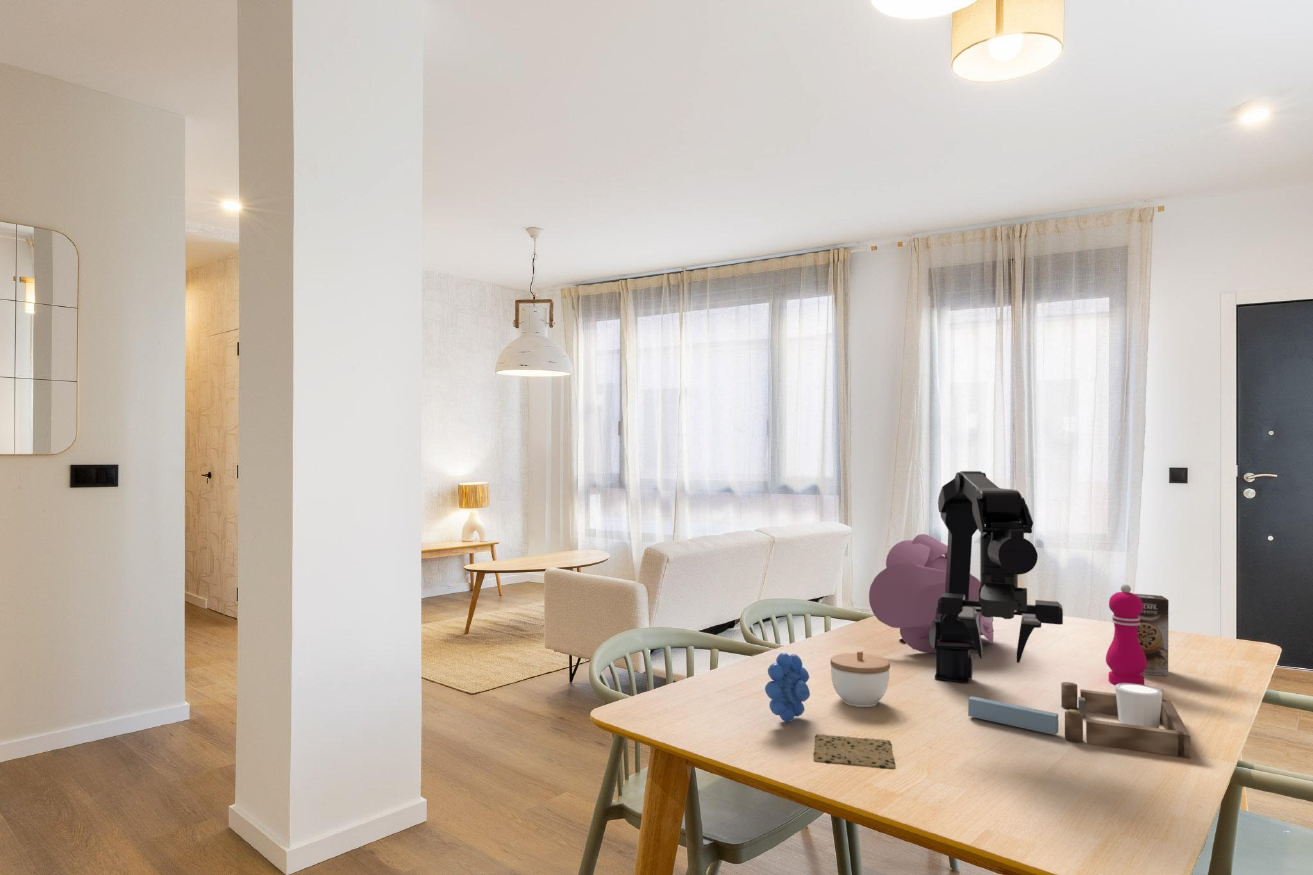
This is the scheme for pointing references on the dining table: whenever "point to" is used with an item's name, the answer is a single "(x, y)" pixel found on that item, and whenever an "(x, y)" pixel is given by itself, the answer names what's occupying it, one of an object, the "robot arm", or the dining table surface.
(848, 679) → the lidded jar
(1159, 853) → the dining table surface
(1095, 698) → the fence
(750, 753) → the dining table surface
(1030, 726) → the gate
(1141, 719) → the white cup
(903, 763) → the dining table surface
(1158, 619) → the dark tall box
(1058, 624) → the robot arm
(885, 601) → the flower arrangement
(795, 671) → the grapes
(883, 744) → the cookie
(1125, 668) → the pepper mill
